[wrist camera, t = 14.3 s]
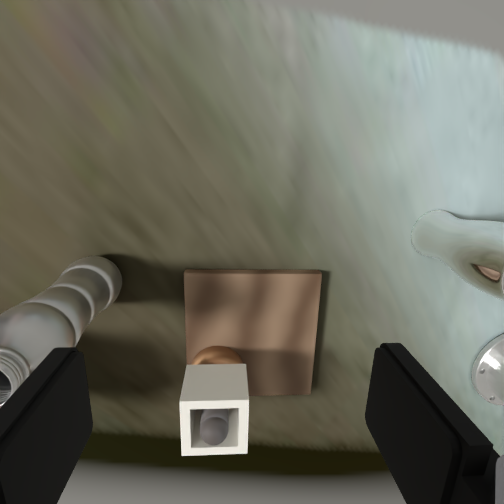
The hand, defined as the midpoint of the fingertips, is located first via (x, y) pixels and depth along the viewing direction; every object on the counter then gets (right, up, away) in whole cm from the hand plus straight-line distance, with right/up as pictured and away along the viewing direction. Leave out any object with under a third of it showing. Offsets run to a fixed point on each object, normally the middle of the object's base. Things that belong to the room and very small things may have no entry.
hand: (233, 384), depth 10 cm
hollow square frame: (-4, -12, +29) cm, 32 cm away
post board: (+1, -7, +34) cm, 34 cm away
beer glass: (+24, +7, +32) cm, 40 cm away
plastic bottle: (-18, +1, +30) cm, 35 cm away
